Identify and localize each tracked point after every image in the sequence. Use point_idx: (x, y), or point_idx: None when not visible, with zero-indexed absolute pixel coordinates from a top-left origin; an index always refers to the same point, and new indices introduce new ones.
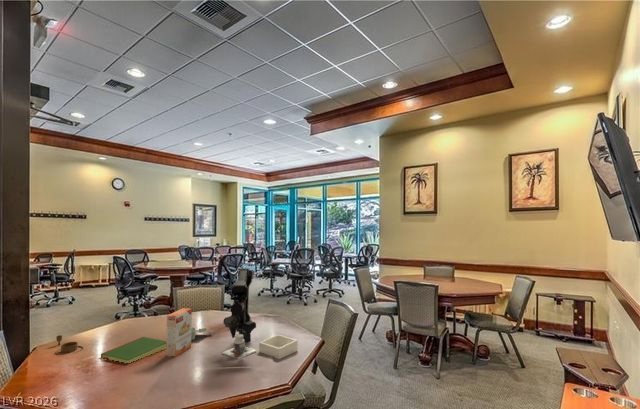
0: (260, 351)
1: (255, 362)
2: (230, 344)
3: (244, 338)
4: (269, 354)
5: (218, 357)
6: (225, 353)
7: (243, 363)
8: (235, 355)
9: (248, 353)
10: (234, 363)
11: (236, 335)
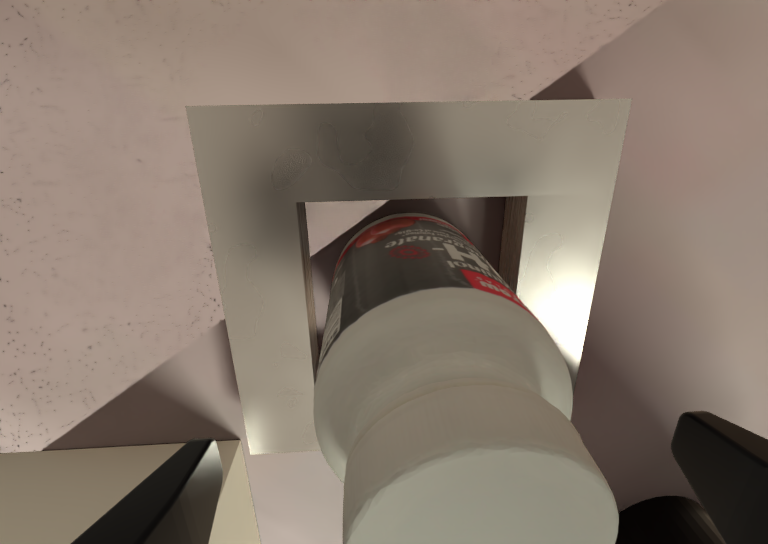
0: None
1: (20, 260)
2: (729, 396)
3: (137, 523)
4: (36, 476)
5: (610, 18)
6: (541, 101)
7: (105, 128)
8: (327, 159)
9: (230, 332)
10: (207, 32)
11: (579, 507)
